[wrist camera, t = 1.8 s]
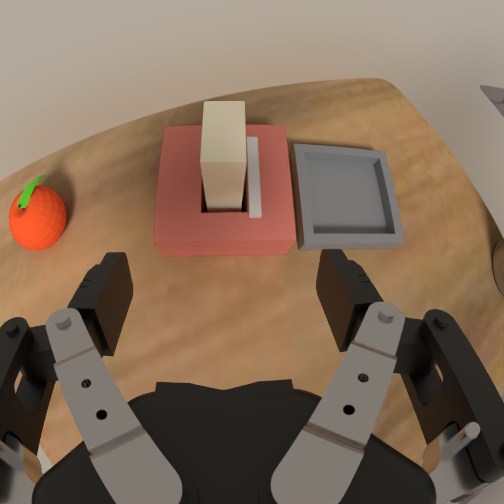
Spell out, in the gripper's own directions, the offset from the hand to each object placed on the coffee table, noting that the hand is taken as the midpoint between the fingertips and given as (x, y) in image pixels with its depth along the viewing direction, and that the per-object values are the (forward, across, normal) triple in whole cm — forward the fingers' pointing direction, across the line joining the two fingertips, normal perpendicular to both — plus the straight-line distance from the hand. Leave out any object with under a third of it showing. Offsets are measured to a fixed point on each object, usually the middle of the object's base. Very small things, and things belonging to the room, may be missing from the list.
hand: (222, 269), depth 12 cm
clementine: (+18, +20, +6) cm, 28 cm away
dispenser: (+20, 0, +4) cm, 20 cm away
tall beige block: (+20, 0, +4) cm, 20 cm away
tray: (+20, -13, +4) cm, 24 cm away
